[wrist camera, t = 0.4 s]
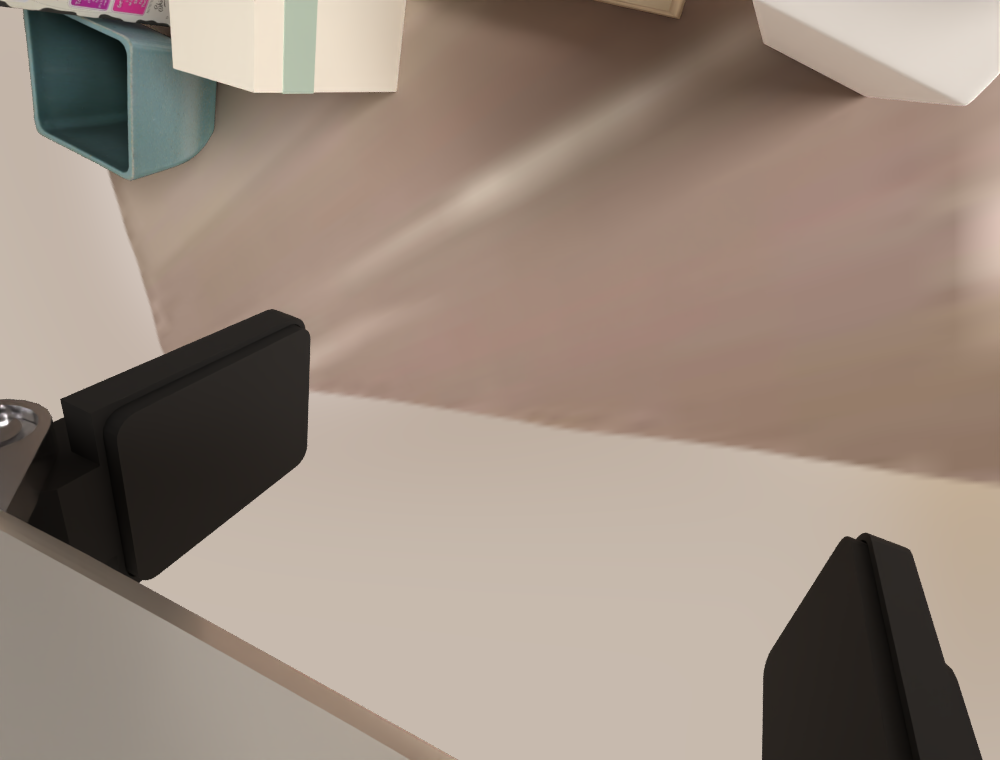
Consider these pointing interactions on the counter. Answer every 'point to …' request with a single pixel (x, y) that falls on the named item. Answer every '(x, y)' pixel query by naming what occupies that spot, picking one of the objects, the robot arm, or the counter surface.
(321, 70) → the carton
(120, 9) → the candy bar box
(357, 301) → the counter surface
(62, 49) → the flower pot
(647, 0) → the podium
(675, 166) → the counter surface
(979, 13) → the milk
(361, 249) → the counter surface
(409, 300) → the counter surface
